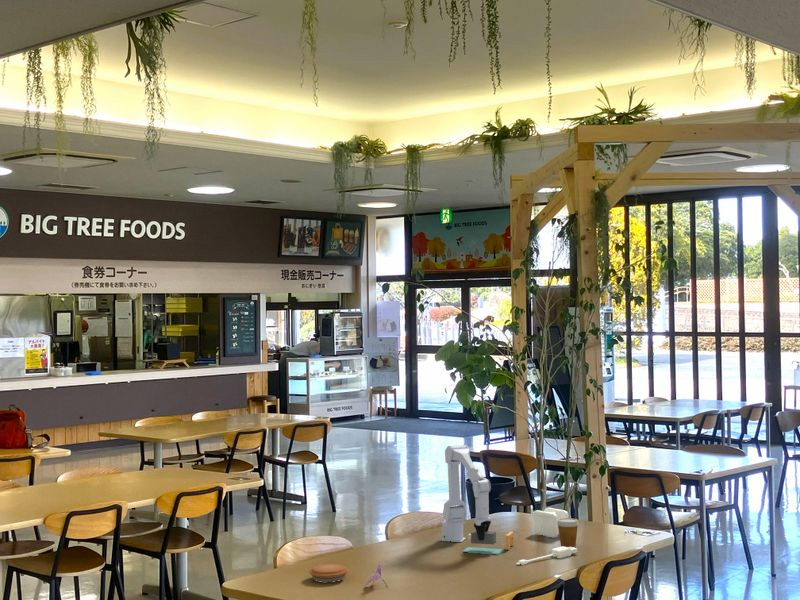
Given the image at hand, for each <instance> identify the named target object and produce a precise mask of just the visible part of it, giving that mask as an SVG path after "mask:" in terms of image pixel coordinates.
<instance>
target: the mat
mask: <svg viewBox="0 0 800 600" xmlns="http://www.w3.org/2000/svg"><path fill="white" fill-rule="evenodd" d="M463 552H468V553H467V554H477V553H481V554H480V555H492V554H496V555H495V556H499V555H500V554H501V553H502V552H504V549H502V548H488V547H472V546H471V547H470V546H468V547H466V548H465V549H463V550H462V553H463Z"/></svg>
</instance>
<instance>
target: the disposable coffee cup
mask: <svg viewBox="0 0 800 600" xmlns="http://www.w3.org/2000/svg"><path fill="white" fill-rule="evenodd" d="M557 524H558V529H559V535H558V537H559V541H560V547H562V546H564V547H574V548H575V547H576V546H577V535H578V527H579V524H580V523H579V521H578V519H577V518H570V517H569V518H562V519H558V522H557ZM576 548H577V547H576Z"/></svg>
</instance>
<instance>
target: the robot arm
mask: <svg viewBox="0 0 800 600" xmlns="http://www.w3.org/2000/svg"><path fill="white" fill-rule="evenodd" d="M470 451H471V450H470V448H469V446H468V445H467V444H463V445H448V446H446V448H445V449H444V457H445V463H446V464H447V478H448V480H447V481H448V497H449V498H448V499H447V501H446V502H444V503H443V510H442V516H443V518H444V520H443V521H442V523H441V541H442V542H450V541H451V542H455V543H462V542H463V541H465V540H466V539H467V538H466V537H464V521H465V519H466V518H467V516H468V515H467V514H468V513H467V512H468V511H467V508H466V502H464V501H463V500H462V499H461V487H460V464H462V465H463V467H464V468H465V469H466V471H467V473H466V475H467V477H468V478H469V480H470V482H471V484H472V491H473V496H474V498H475V500H474V501H475V519H474V520H475V522H474V523H473V527H474V528H475V531H477V535H478V539H479V540H484V536H485V531H489V529H490V525H491V523H492V517H490V512H489V511H490V508H489V503H490V500H489V498H490V497H489V493H490V492H491V490H492V485H491V484H492V483H491V482H490V480H489V479H487V477H484V475H483V474H482V472H481V471H480V469H479V468H478V467H475V465H474V462H473V461H472V458H471V455H470V453H471V452H470ZM451 542H450V543H451Z"/></svg>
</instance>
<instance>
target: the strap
mask: <svg viewBox="0 0 800 600" xmlns="http://www.w3.org/2000/svg"><path fill="white" fill-rule="evenodd" d="M514 533H515V531H509V532H508V533H506V534H505V550H511V546H512V547H514V545H515V538H514V537H515V535H514Z"/></svg>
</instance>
